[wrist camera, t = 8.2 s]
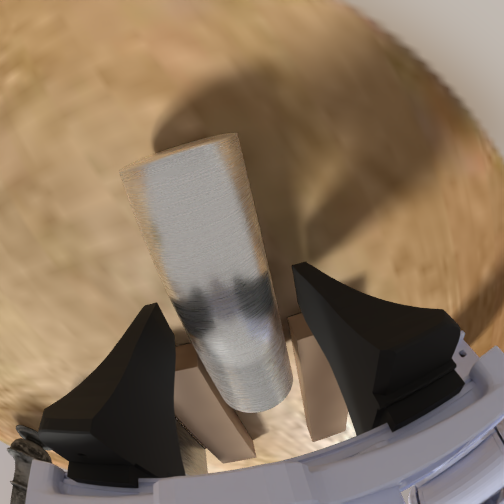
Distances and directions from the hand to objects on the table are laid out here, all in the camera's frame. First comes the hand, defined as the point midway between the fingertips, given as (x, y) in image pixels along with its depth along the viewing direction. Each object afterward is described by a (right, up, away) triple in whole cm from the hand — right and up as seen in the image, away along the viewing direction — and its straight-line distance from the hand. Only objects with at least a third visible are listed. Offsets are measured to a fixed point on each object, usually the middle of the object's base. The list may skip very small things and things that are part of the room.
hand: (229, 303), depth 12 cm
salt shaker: (-23, -19, +7) cm, 30 cm away
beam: (+2, -8, +6) cm, 10 cm away
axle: (0, 0, -1) cm, 1 cm away
